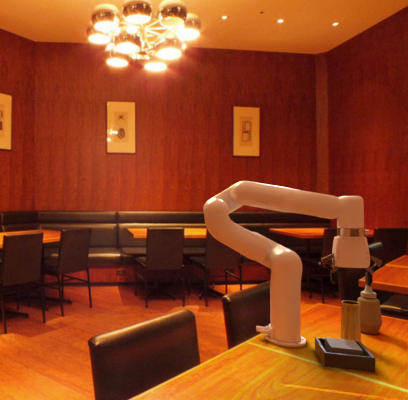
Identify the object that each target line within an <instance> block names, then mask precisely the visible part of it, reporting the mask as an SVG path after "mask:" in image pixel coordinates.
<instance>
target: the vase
mask: <svg viewBox="0 0 408 400" xmlns="http://www.w3.org/2000/svg"><path fill="white" fill-rule="evenodd" d="M340 303H341V305H340V306H341V308H340V309H341V310H340V311H341V312H340V314H341V315H340V338H339V339H346V340H354V341H360V342H361V343H362V332H361V330H360V303H359V302H357V301H355V300H349V299H346V300H345V299H344V300H341V302H340Z"/></svg>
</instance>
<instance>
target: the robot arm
mask: <svg viewBox="0 0 408 400" xmlns="http://www.w3.org/2000/svg"><path fill="white" fill-rule="evenodd" d="M364 204H365V203H364V198H363V197H362V196H360V195H341V196H336V195H332V194H326V193H319V192H315V191H314V192H313V191H307V190H303V189H302V190H301V189H296V188H291V187H286V186H280V185H274V184H268V183H261V182H257V181H249V180H240V181H238V182H235V183H234V184H232V185H231V186H230V187H228V188H226V189H225V190H223V191H221V192H219V193H218V194H216V195H214V196H213V197H211V198H209V199H208V200H206V202H205V203H204V204H203V207H202V210H203V217H204V224H205V227H206V229H207V231H208V233H209V234H210V235H211V237H213V238H214V239H215V240H216V241H217V242H220V244H223V245H224V246H227V247H228V248H230V249H232V250H234V251H235V252H237V253H239V254H241V255H242V256H244V257H245V258H247V259H249V260H251V261H255V262H256V263H259V264H261V265H263V266H265V267H266V268H268V269H270V279H269V305H270V306H269V312H270V313H269V314H270V315H269V321H270V323H268V325H265V326H262V325H255V331H256V332H258V333H260V334H263V335H264V334H265V339H266V341H268V342H270V343H272V344H275V345H278V346H280V347H281V346H282V347H286V348H287V347H288V348H298V347H303V346H305V345H306V344H307V339H306V338H305V337H304V336H302V302H301V301H302V295H301V293H302V289H301V288H302V277H303V262H302V259H301V257H300V255H298V253H297V252H296V251H294V250H292V249H290V248H288V247H285V246H284V245H282V244H280V243H277V242H276V241H274V240H272V239H270V238H268V237H266V236H265V235H263V234H260V233H259V232H256V231H251V230H249V229H248V228H246V227H243V226H242V225H240V224H238V223H236V222H234V221H233V220H232V219H231V217H230V215H229V214H231V213H234V211H236V210H238V209H240V208H241V207H243V206H248V207H252V208H253V207H254V208H258V209H259V208H260V209H265V210H270V211H274V212H281V213H290V214H291V213H292V214H293V213H294V214H299V215H306V216H312V217H317V218H321V219H328V220H334V219H336V236H334V237H333V241H332V251H331V254H328V255H326V256H324V257H321V258H320V260H321V262H322V264H323V266H324V267H325V268H326V269H327V270H328V271H330V273H329V274H330V282H331V283H332V284H333V285H334V286H337V285H338V272H337V270H338V269H340V268H349V269H350V268H351V269H364V270H365V271H366V272H365V273H364V284H365V286H366V285H368V286H371V287H372V284H373V276H374V274H375V272H376V271H378V270H380V269H379V268H380V267H381V265H382V263H383V260H381V259H379V258H377V257H375V256H373V255H372V254H370V248H369V243H368V238H367V237H366V235H369V234H370V229H366V228H365V207H364V206H365V205H364ZM330 260H331V263H332V264H331V265H330V264H329V263H328V261H330ZM371 261H373V262H374V264H373V265H372V266H370V265H371Z"/></svg>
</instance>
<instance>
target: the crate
mask: <svg viewBox="0 0 408 400" xmlns="http://www.w3.org/2000/svg"><path fill="white" fill-rule="evenodd" d="M325 338H326V337H314V351H315V353H316V355H317V356H318V358H319V360H320V362H321V363H322V365H323V367H324V368H332V369H340V370H348V371H349V370H350V371H357V372H358V371H359V372H365V373H374V374H376V357H375V356H374V355H373V353H372V352H371V351H369V349H368V347H366V346H365V345H364V344H363V343H362V341H361V342H360V341H355V342H356V343H357V344H358V345H359V346H360V348H361V349H362V350H363V356H359V355H350V354H340V353H330V352H326V350H325Z"/></svg>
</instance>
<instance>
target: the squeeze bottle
mask: <svg viewBox="0 0 408 400" xmlns="http://www.w3.org/2000/svg"><path fill="white" fill-rule="evenodd" d="M356 302H359V303H360V330H361V333H363V334H364V333H365V334H370V335H378V334H379V333H380V330H381V328H382V325H383V317H382V311H381V310H382V309H381V302H380V300H379V299H378V298H377V293H376V292H374V291H373V287H372V285H371V286H368V285H366V284H365V287H364V289H363V290H361V291H360V296H359V297H358V298H357V301H356Z"/></svg>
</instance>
